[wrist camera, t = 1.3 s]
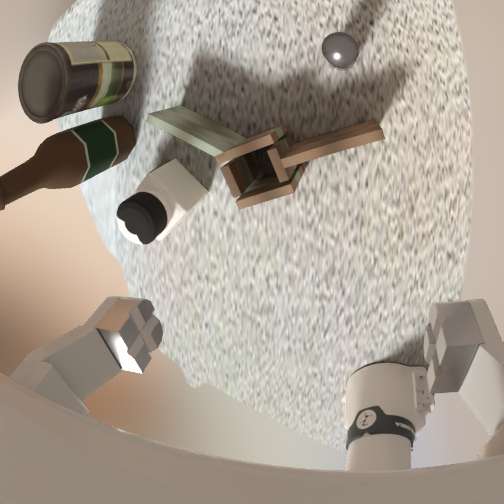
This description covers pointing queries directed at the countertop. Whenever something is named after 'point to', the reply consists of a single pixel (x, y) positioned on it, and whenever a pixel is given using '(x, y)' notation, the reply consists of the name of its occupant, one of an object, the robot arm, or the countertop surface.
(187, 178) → the medicine bottle
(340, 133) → the stand
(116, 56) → the coffee can
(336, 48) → the hinge pin
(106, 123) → the beer bottle
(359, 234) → the countertop surface
